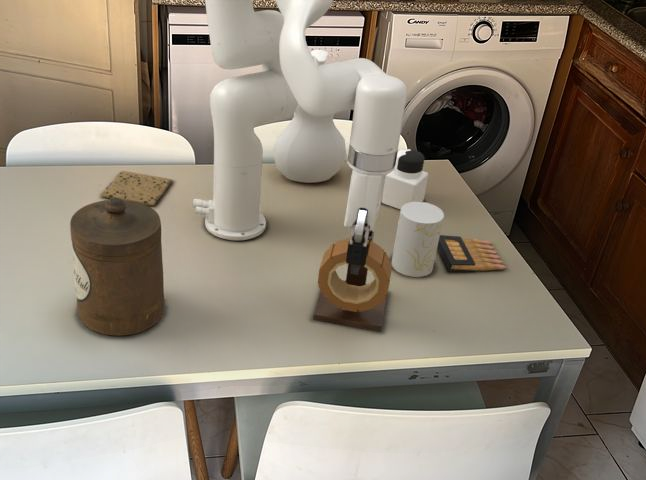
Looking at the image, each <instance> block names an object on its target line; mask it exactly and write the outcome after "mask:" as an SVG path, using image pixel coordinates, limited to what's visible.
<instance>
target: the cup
mask: <svg viewBox="0 0 646 480" xmlns="http://www.w3.org/2000/svg"><path fill="white" fill-rule="evenodd" d="M399 210H400V209H399ZM444 217H445V214H444V212H443V210H442V209H441V208H440V207H438V206H436V205H434V204H432V203H429V202H424V201H422V202H409V203H406V204H404V205H403V206H402V207H401V210H400V211H399V217H398V223H397V228H396V234H395V240H394V245H393V251H392V256H391V261H390V262H391V264H392V266H391V267H392V269H394V270H395V271H396V272H398V273H399V274H401V275H404V276H407V277H412V278H421V277H426V276H428V275H430V274H431V273H432V272H433V269H434V265H435V260H436V256H437V250H438V248H437V246H438V242H439V237H440V235H441V232H442V227H443V222H444Z"/></svg>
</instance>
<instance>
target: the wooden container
mask: <svg viewBox="0 0 646 480" xmlns="http://www.w3.org/2000/svg"><path fill="white" fill-rule="evenodd" d="M69 229H70V239H71V251H72V261H73V276H74V287H75V297H76V305H77V314H78V318H79V320H80V321H81V323H82V324H83V325H84V327H85V326H86V328H87V329H90V330H92V331H94V332H96V333H97V334H102V335H107V336H116V337H117V336H120V337H121V336H128V335H129V336H130V335H134V334H139V333H141V332H145V331H146V330H148V329H150V328H152V327H153V326H155V325H156V324H157V323H158V322H159V321H160V319H161V318H162V317H163V314H164V311H165V294H164V293H165V288H164V263H163V248H162V247H163V245H162V221H161V217H160V215H159V213H158V212H157V211H156V210H155V209H154V208H152V206H150V205H149V206H148V205H145V204H142V203H139V202H135V201H130V200H122V199H119V198H116V197H114V198H108V199H105V200H99V201H95V202H92V203H89V204H86V205H84V206H82V207H80V208H79V209H78V210H76V211H75V212H74V213H73V214H72V216H71V219H70V223H69Z"/></svg>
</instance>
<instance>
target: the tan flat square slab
mask: <svg viewBox="0 0 646 480" xmlns="http://www.w3.org/2000/svg"><path fill="white" fill-rule="evenodd" d="M171 183H173V179H171V178H166V177H165V178H164V177H160V176H153V175H148V174H142V173H136V172H131V171H125V170H122V171H121V172H119V174H118V175H117V176H116V178H114V180H113V181H112V183H110V185H109V186H107V187H106V188H105V190H104V192H102V194H101V197H102V198H106V199H111V198H114V197H116V198H119V199H122V200H130V201H135V202H139V203H142V204H145V205H147V206H149V207H154V206H156V204H157V202H158V201H159V199H160V198H161V197H162V196H163V194H164V193H165V192H166V191H167V189H168V188H169V186H170V185H171Z"/></svg>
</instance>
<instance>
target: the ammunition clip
mask: <svg viewBox="0 0 646 480" xmlns="http://www.w3.org/2000/svg"><path fill="white" fill-rule="evenodd" d="M493 244H494V243H493V242H492V241H489V240H484V239H477V238H471V237H470V238H469V237H461V236H460V235H459V236H457V235H446V234H440V237H439V242H438V246H437V250H438V253H439V255H440V256H441V258H442V261H443V263H444V265H445V267H446V268H447V271H448V272H464V273H469V272H470V273H471V272H474V271H483V272H486V271H500V270H505V269H507V268H508V267H507V266H506V265H503V264H504V263H505V261H503V260H501V259H502V257H501V256H499V255H498V254H499V252H498V251H496V250H495V249H496V246H493Z"/></svg>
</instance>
